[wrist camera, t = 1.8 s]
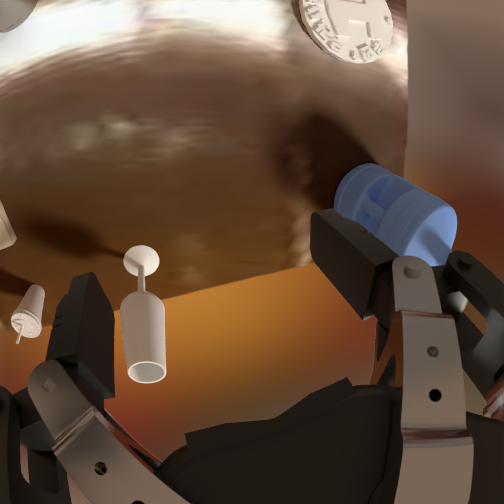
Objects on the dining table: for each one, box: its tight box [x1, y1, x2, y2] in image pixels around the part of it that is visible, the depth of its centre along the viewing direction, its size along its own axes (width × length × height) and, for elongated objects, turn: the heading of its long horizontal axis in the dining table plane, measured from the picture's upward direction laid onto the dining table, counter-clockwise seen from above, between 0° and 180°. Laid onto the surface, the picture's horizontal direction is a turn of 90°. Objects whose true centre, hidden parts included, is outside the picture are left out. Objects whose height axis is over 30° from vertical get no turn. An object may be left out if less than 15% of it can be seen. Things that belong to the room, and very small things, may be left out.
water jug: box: [334, 163, 457, 266], centre depth 46 cm, size 16×16×28 cm
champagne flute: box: [120, 245, 166, 383], centre depth 40 cm, size 7×7×24 cm
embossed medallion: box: [299, 0, 393, 64], centre depth 34 cm, size 20×20×3 cm
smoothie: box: [11, 284, 45, 344], centre depth 39 cm, size 6×6×14 cm
